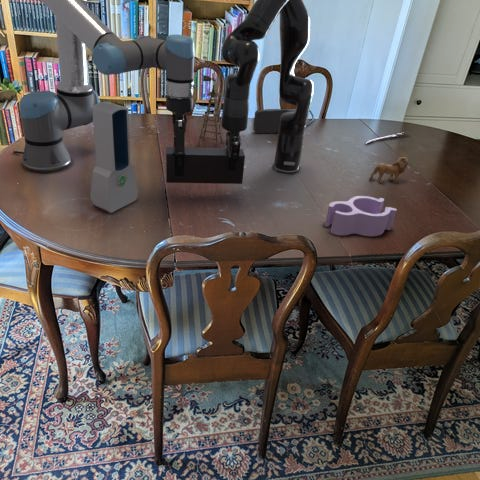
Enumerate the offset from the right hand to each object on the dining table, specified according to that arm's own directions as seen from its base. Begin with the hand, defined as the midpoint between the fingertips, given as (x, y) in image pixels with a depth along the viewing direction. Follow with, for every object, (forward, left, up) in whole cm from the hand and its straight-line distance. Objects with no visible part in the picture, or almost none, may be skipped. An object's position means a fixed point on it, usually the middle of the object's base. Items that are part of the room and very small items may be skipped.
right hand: (230, 165), depth 144 cm
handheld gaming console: (-66, -24, -12) cm, 71 cm away
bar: (+6, -6, -5) cm, 9 cm away
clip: (-15, +39, -12) cm, 43 cm away
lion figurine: (-55, +32, -12) cm, 65 cm away
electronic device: (+28, -22, -12) cm, 37 cm away
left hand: (+12, -11, -1) cm, 16 cm away
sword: (-99, +14, -12) cm, 101 cm away
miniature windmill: (-31, -34, -12) cm, 47 cm away
